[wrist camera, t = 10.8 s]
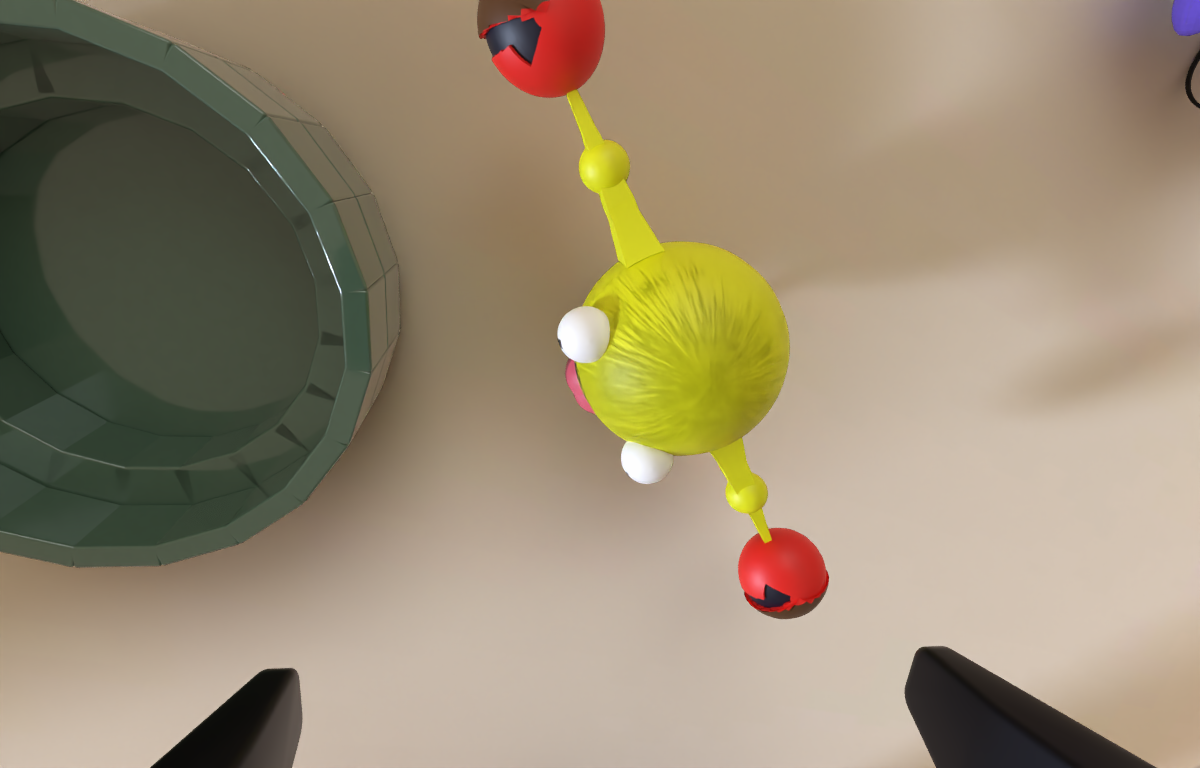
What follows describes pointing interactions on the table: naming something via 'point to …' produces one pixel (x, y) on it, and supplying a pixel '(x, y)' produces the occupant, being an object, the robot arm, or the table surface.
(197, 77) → the bowl
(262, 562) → the table surface
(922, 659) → the robot arm
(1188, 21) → the game controller
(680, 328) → the toy figure
